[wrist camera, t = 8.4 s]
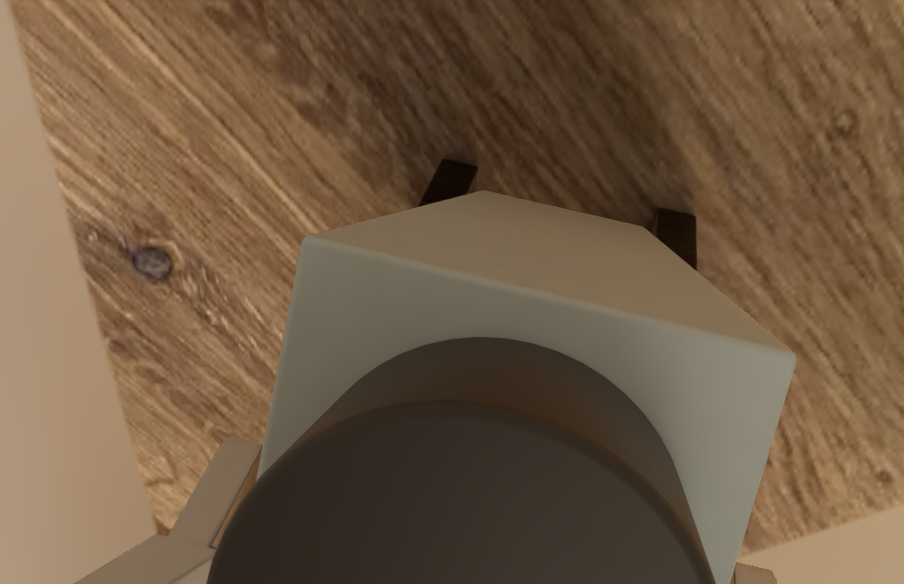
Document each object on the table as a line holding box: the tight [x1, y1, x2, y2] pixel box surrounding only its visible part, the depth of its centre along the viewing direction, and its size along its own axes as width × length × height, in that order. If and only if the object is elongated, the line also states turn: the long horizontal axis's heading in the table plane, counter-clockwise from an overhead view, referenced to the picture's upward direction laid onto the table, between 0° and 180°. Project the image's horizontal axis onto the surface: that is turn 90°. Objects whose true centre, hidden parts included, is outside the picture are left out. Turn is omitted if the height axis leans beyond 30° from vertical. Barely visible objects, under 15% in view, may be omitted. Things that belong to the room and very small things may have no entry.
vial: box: [206, 190, 797, 584], centre depth 13 cm, size 16×4×4 cm
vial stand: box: [418, 159, 697, 271], centre depth 23 cm, size 9×7×6 cm
